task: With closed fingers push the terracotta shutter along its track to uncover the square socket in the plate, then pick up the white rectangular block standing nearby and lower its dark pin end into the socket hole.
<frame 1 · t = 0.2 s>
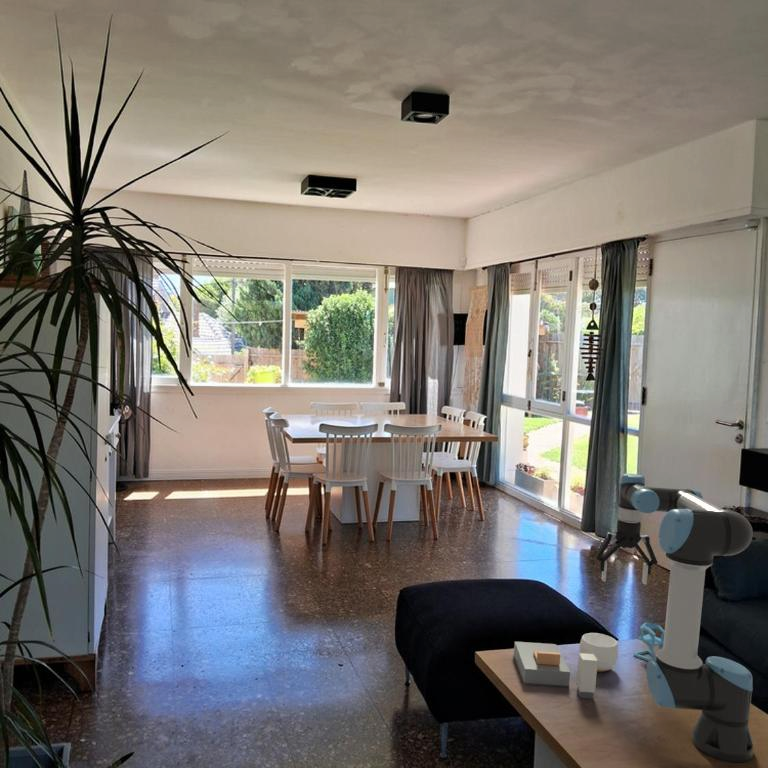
hand: (623, 581, 244), 28 cm above the table, fingers open, 13 cm apart
cup: (597, 668, 241), on the table
socket plate: (540, 670, 236), on the table
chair: (649, 659, 250), on the table
white rectangular block: (585, 694, 222), on the table
shutter: (546, 654, 232), point 7 cm above the table, slide at 0.0 cm
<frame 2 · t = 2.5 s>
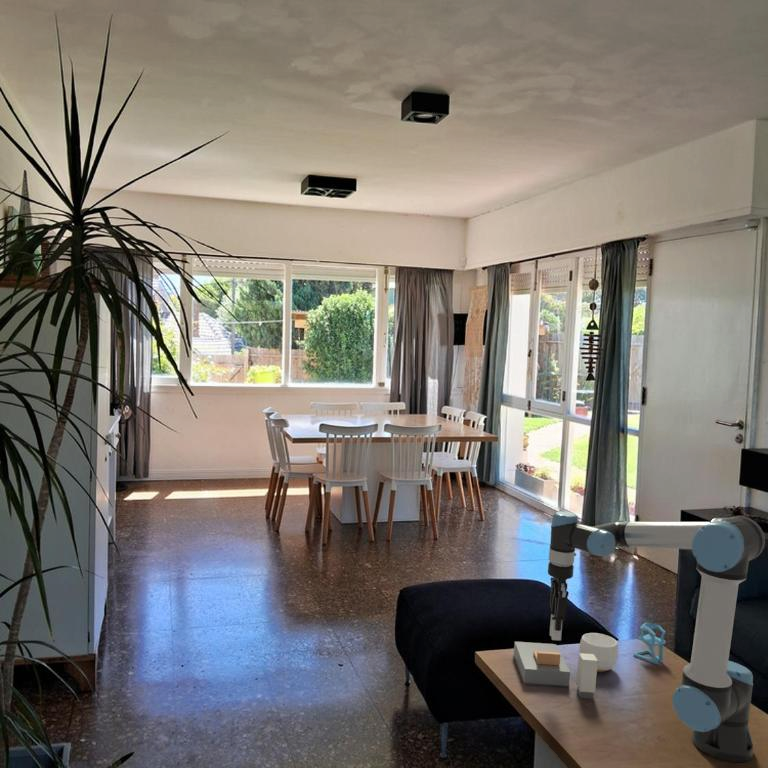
hand: (555, 637, 223), 16 cm above the table, fingers open, 2 cm apart
nothing on the table moved.
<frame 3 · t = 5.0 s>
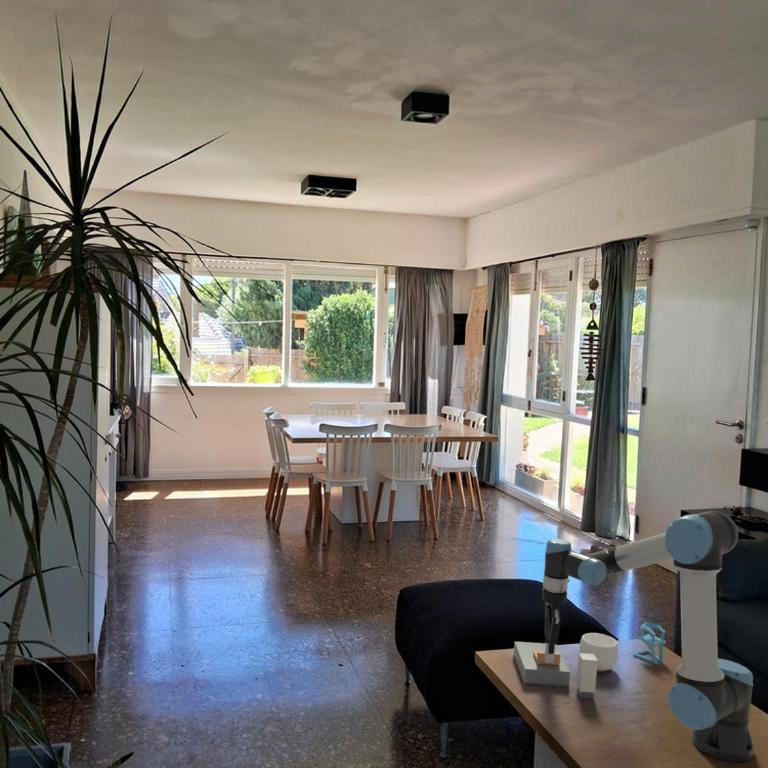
hand: (549, 661, 228), 7 cm above the table, fingers closed
shutter: (546, 654, 232), point 7 cm above the table, slide at 0.0 cm, touching gripper
everything else where it was.
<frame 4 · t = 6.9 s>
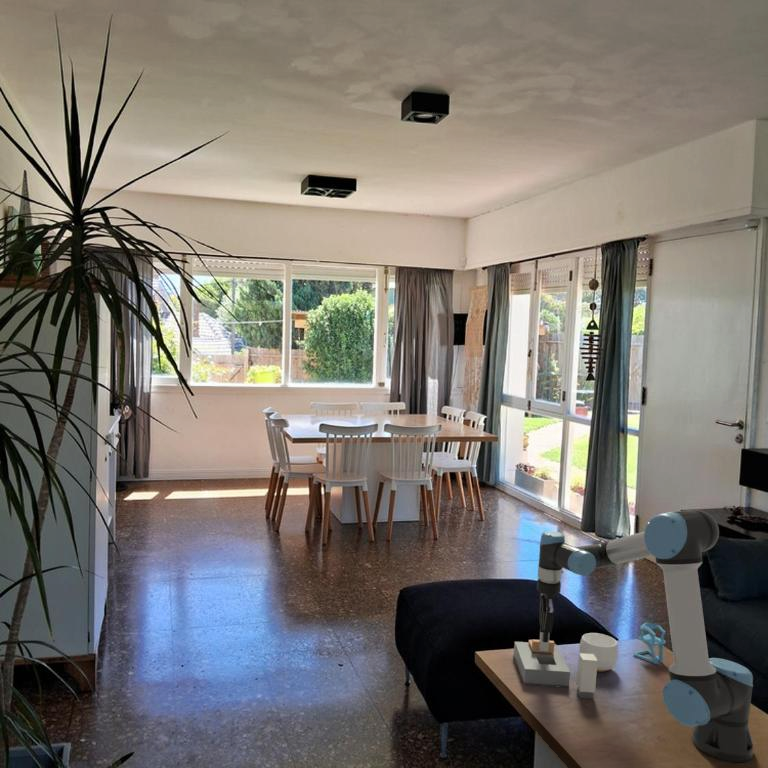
hand: (543, 650, 237), 6 cm above the table, fingers closed
shutter: (541, 642, 241), point 7 cm above the table, slide at 8.6 cm, touching gripper
everything else where it was.
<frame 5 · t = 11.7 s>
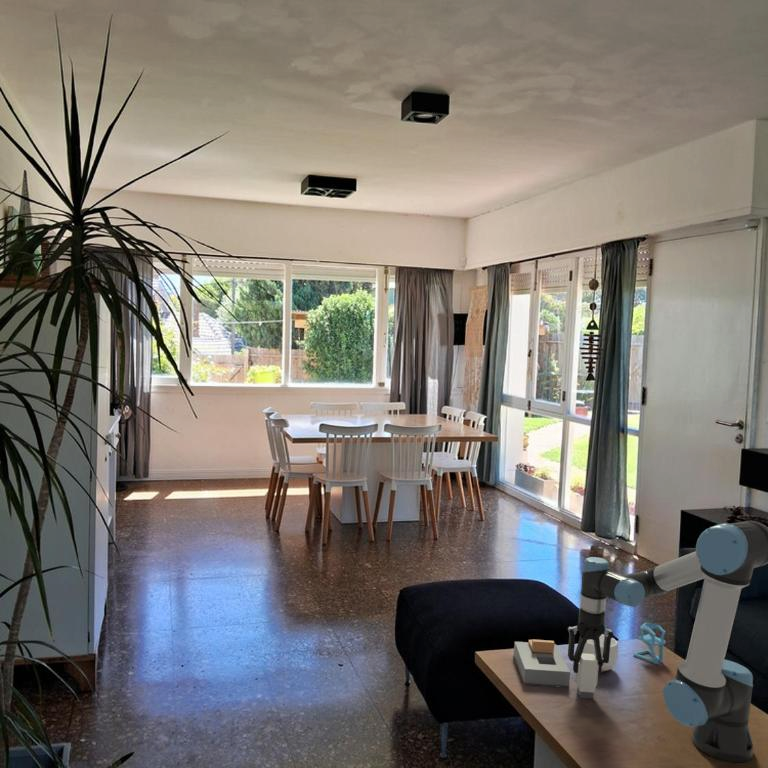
hand: (586, 683, 222), 4 cm above the table, fingers closed on white rectangular block, 4 cm apart
white rectangular block: (585, 694, 222), on the table, touching gripper
shutter: (541, 642, 241), point 7 cm above the table, slide at 8.7 cm
everything else where it was.
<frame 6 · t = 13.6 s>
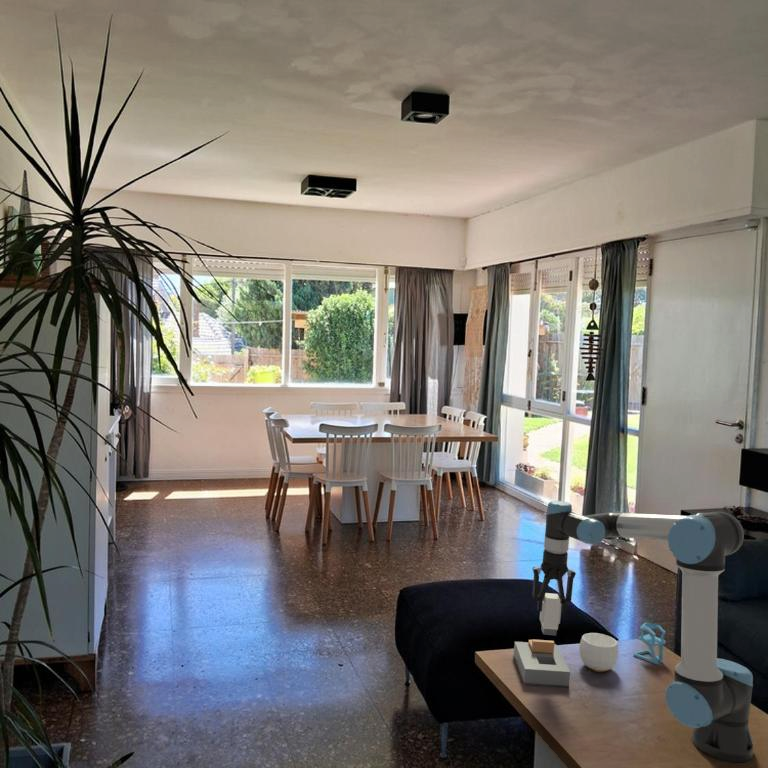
hand: (549, 621, 232), 18 cm above the table, fingers closed on white rectangular block, 4 cm apart
white rectangular block: (548, 632, 232), point 14 cm above the table, touching gripper
everything else where it was.
when the fingers open (6 cm above the table, at t = 15.6 s): white rectangular block drops 2 cm, resting on socket plate.
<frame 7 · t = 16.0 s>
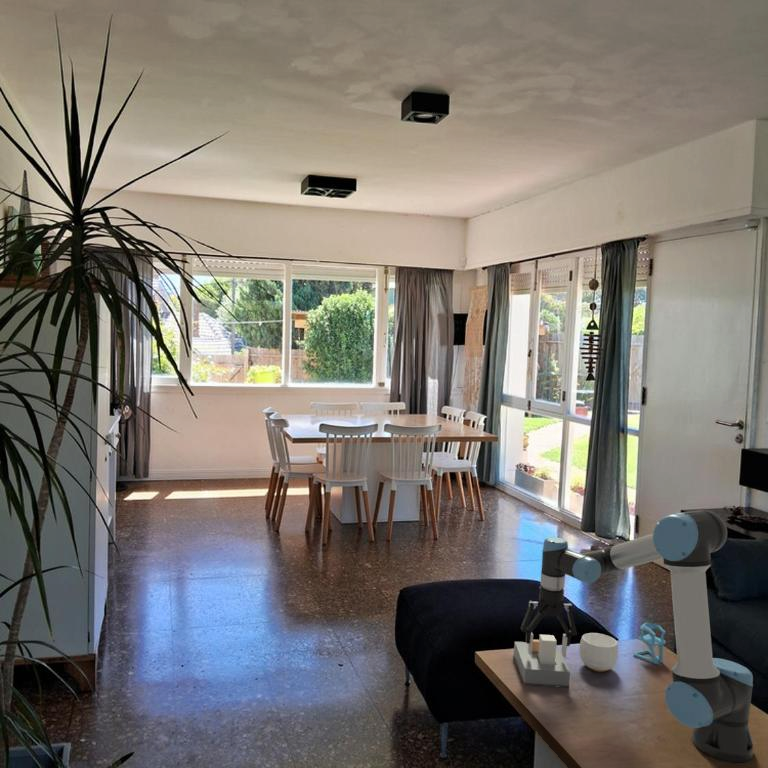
hand: (546, 654, 232), 7 cm above the table, fingers open, 10 cm apart
white rectangular block: (545, 673, 233), resting on socket plate
everything else where it was.
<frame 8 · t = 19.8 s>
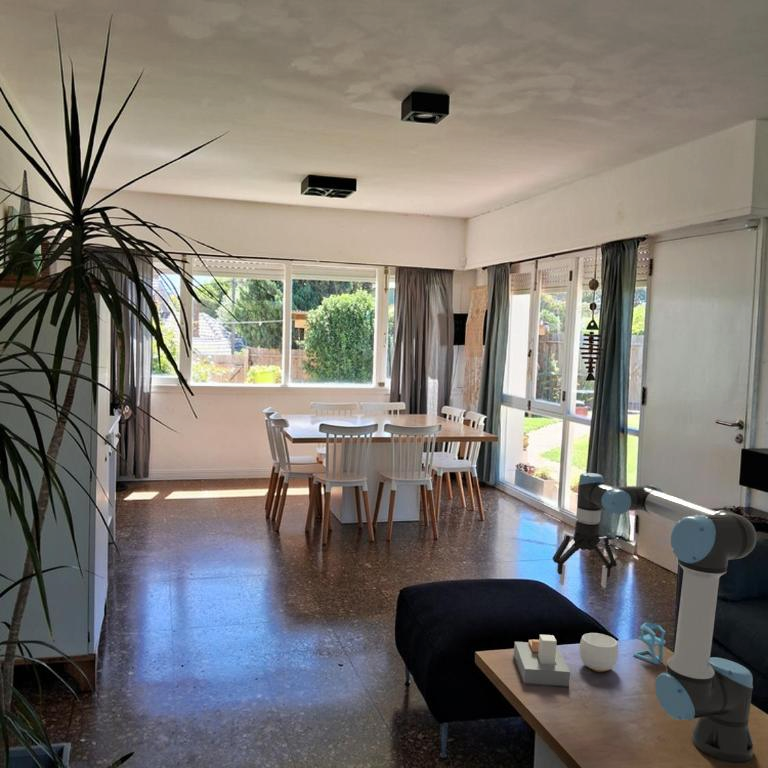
hand: (582, 585, 236), 29 cm above the table, fingers open, 13 cm apart
nothing on the table moved.
at the end: shutter slide at 8.7 cm; white rectangular block 0.0 cm from the target spot on the socket plate, point 0.5 cm above the socket plate's base; white rectangular block tilted 0° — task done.
